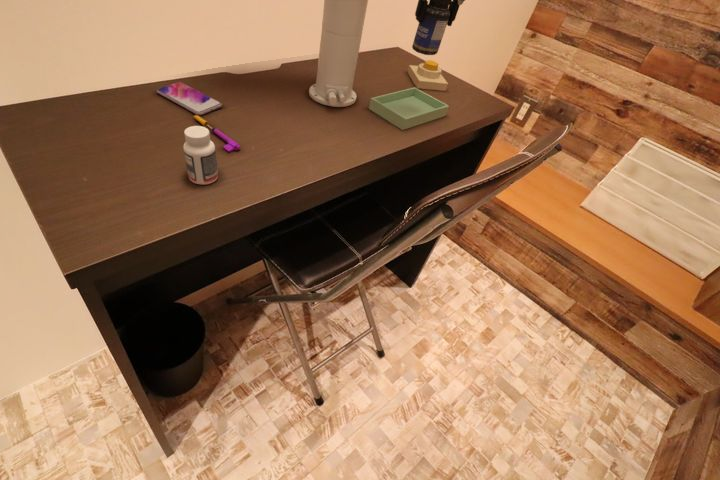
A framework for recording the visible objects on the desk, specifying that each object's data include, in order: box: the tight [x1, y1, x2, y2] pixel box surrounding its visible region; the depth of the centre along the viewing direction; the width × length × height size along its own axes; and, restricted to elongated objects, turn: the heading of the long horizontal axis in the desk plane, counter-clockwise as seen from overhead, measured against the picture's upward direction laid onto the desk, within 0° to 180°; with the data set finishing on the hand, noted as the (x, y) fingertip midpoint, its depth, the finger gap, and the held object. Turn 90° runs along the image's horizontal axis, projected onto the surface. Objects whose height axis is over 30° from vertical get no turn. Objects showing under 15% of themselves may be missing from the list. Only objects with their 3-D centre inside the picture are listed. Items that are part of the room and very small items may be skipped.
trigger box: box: [406, 62, 449, 92], centre depth 110 cm, size 12×9×4 cm
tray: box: [368, 86, 450, 131], centre depth 94 cm, size 17×12×3 cm
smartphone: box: [156, 81, 223, 116], centre depth 85 cm, size 7×1×15 cm
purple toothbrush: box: [193, 114, 241, 153], centre depth 76 cm, size 3×1×16 cm
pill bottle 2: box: [411, 0, 453, 56], centre depth 81 cm, size 6×6×11 cm
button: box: [423, 60, 439, 71], centre depth 108 cm, size 4×4×2 cm
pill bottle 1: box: [182, 125, 219, 186], centre depth 63 cm, size 5×5×9 cm
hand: (433, 21), depth 81 cm, fingers closed on pill bottle 2, 6 cm apart
